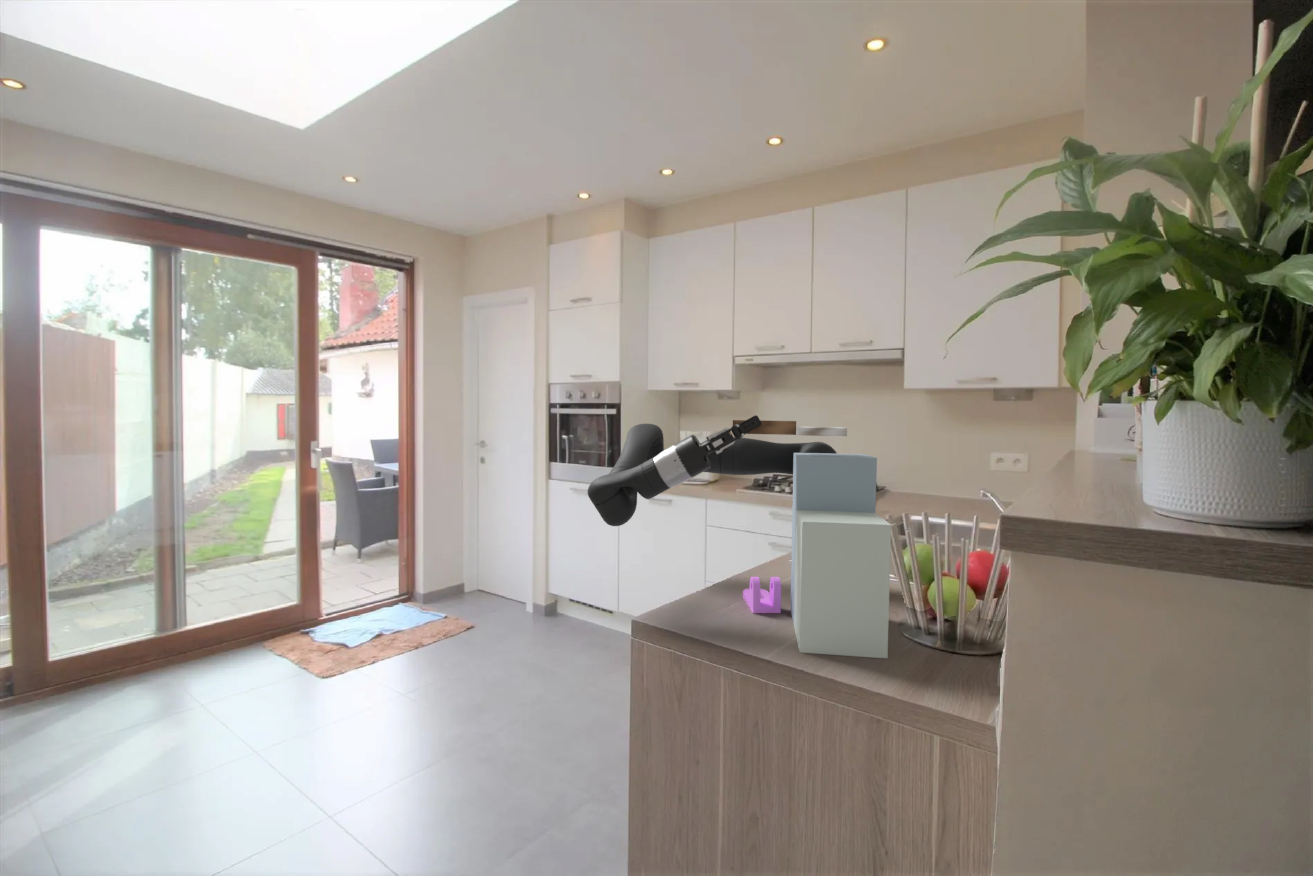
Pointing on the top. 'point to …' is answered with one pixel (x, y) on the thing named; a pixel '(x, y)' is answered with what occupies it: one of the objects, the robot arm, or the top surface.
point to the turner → (793, 429)
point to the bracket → (763, 596)
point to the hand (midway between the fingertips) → (759, 419)
